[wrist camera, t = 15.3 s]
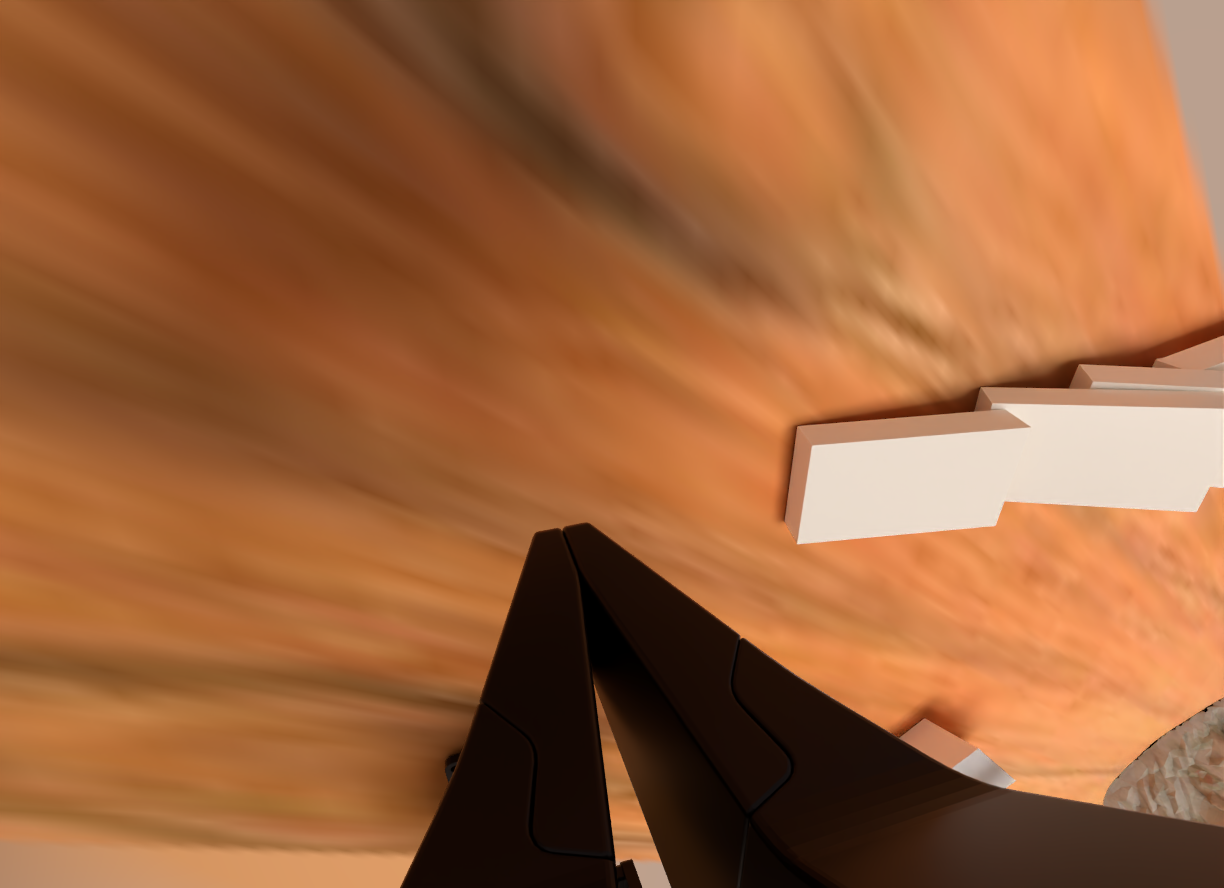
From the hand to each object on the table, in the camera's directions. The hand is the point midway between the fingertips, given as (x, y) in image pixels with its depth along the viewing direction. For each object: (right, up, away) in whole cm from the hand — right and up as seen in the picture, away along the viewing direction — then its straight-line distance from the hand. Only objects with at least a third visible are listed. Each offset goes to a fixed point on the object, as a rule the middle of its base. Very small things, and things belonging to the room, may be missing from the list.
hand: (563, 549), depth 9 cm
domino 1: (+9, 0, +16) cm, 18 cm away
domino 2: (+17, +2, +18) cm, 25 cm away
